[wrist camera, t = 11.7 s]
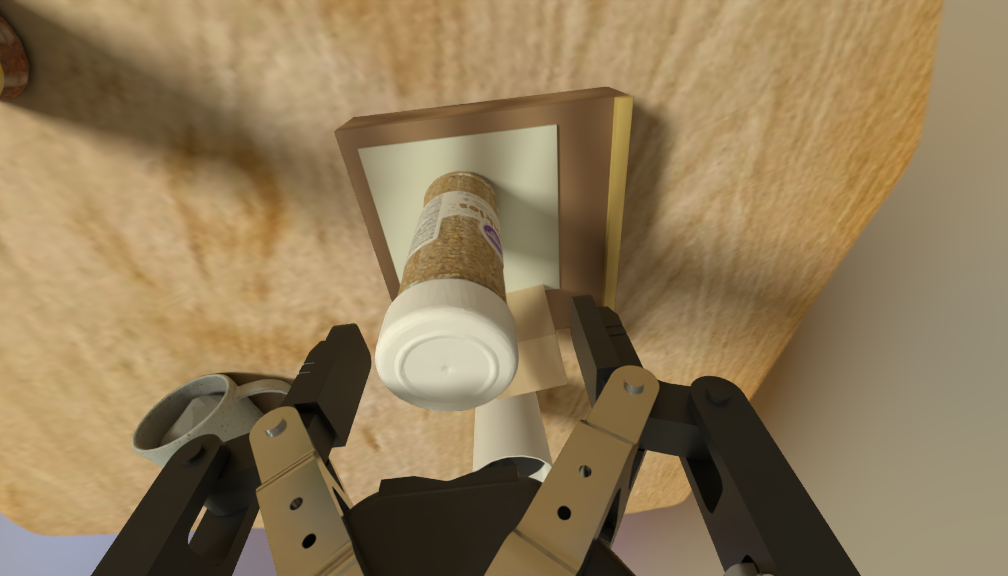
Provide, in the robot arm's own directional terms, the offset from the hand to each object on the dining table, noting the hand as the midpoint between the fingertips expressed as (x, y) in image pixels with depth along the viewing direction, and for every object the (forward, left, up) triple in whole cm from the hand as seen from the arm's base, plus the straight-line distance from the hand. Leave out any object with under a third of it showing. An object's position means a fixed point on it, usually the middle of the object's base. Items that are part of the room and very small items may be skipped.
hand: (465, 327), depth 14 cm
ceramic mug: (+25, +18, -15) cm, 34 cm away
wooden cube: (-5, +9, -8) cm, 13 cm away
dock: (-2, +3, -15) cm, 15 cm away
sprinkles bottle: (0, 0, -11) cm, 11 cm away
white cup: (0, +21, -15) cm, 26 cm away
